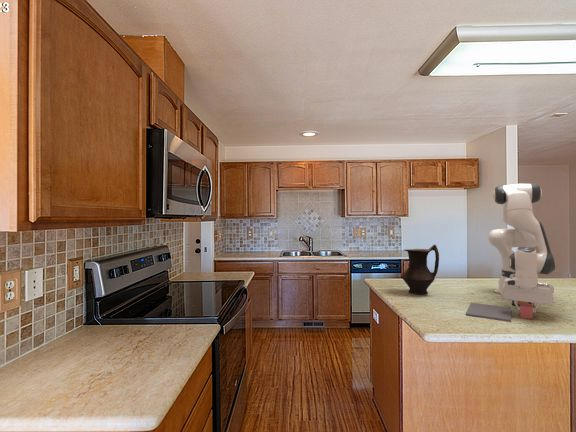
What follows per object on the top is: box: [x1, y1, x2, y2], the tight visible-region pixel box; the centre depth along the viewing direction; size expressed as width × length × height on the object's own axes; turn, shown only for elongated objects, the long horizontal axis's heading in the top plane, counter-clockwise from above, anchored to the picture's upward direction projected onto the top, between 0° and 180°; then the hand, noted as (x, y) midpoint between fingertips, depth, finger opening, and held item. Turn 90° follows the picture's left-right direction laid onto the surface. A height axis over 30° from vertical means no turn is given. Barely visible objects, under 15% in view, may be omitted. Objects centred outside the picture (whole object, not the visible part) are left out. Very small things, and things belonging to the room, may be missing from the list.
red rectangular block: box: [519, 303, 533, 320], centre depth 161 cm, size 8×4×5 cm, turn 147°
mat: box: [465, 302, 512, 322], centre depth 168 cm, size 24×18×1 cm
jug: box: [401, 244, 440, 296], centre depth 206 cm, size 21×18×30 cm
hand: (526, 311), depth 161 cm, fingers closed on red rectangular block, 4 cm apart
